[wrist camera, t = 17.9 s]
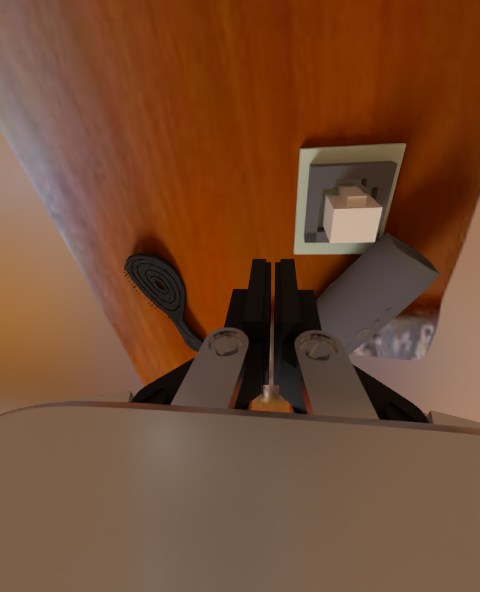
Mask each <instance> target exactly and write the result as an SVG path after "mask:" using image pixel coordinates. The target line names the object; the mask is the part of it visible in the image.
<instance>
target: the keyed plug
mask: <svg viewBox="0 0 480 592" xmlns="http://www.w3.org/2000/svg"><path fill="white" fill-rule="evenodd" d="M382 208H383V207H382V206H381V205H380V204H379V203H377V202H376V201H375V200H374V199H373V198H372V197H371V196H370V195H369V194H368V193H367V192H366V191H362V190H361V189H360V188H359V187H358V186H356V185H355V184H354V183H348V184H338V186H337V192H330V193H325V196H324V206H323V216H322V224H323V227H324V229H325V232H326V235H327V237H328V240H329V242H330V243H364V242H375V239H376V234H377V230H378V226H379V221H380V217H381V212H382Z"/></svg>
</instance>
